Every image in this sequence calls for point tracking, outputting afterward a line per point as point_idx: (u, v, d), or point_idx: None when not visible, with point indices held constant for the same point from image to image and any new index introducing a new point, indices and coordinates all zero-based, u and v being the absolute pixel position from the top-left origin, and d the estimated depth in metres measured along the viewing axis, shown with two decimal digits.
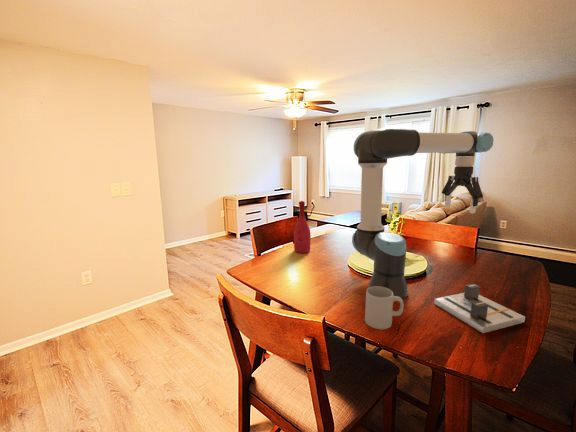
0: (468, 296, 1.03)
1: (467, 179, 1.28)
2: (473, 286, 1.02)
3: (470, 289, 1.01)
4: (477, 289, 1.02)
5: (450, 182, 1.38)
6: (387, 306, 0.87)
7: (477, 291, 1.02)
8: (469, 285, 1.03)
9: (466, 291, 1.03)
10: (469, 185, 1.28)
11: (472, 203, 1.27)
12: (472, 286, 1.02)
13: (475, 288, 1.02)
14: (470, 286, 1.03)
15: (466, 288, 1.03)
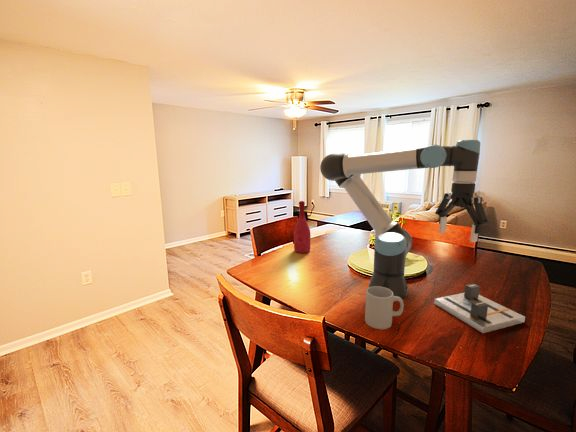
0: (468, 296, 1.03)
1: (468, 199, 1.02)
2: (473, 286, 1.02)
3: (470, 289, 1.01)
4: (477, 289, 1.02)
5: (446, 201, 1.12)
6: (387, 306, 0.87)
7: (477, 291, 1.02)
8: (469, 285, 1.03)
9: (466, 291, 1.03)
10: (470, 207, 1.03)
11: (474, 230, 1.01)
12: (472, 286, 1.02)
13: (475, 288, 1.02)
14: (470, 286, 1.03)
15: (466, 288, 1.03)
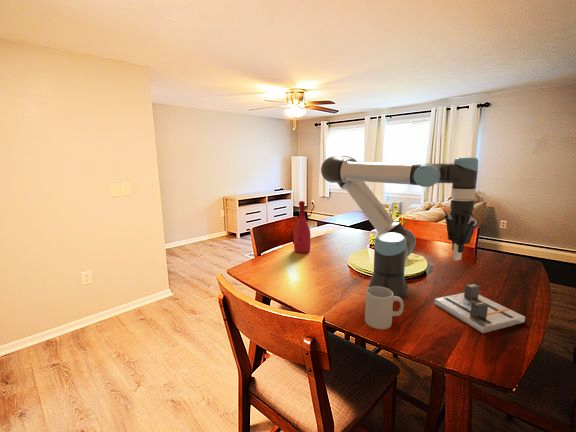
0: (468, 296, 1.03)
1: (466, 217, 1.02)
2: (473, 286, 1.02)
3: (470, 289, 1.01)
4: (477, 289, 1.02)
5: (450, 222, 1.10)
6: (387, 306, 0.87)
7: (477, 291, 1.02)
8: (469, 285, 1.03)
9: (466, 291, 1.03)
10: (464, 226, 1.04)
11: (457, 249, 1.07)
12: (472, 286, 1.02)
13: (475, 288, 1.02)
14: (470, 286, 1.03)
15: (466, 288, 1.03)
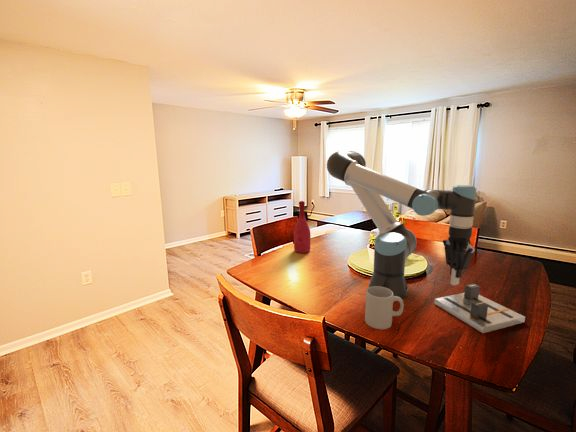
0: (468, 296, 1.03)
1: (464, 244, 1.04)
2: (473, 286, 1.02)
3: (470, 289, 1.01)
4: (477, 289, 1.02)
5: (448, 247, 1.11)
6: (387, 306, 0.87)
7: (477, 291, 1.02)
8: (469, 285, 1.03)
9: (466, 291, 1.03)
10: (461, 252, 1.06)
11: (455, 274, 1.09)
12: (472, 286, 1.02)
13: (475, 288, 1.02)
14: (470, 286, 1.03)
15: (466, 288, 1.03)
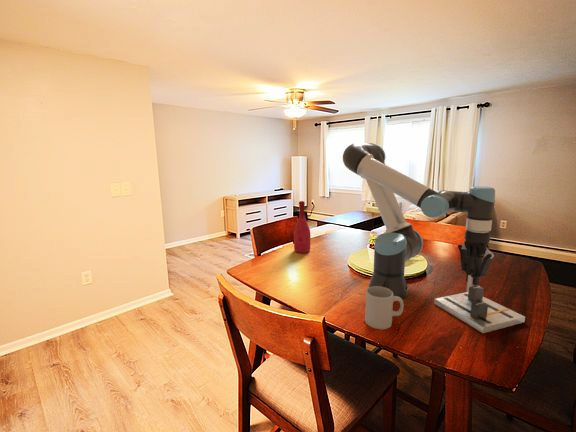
0: (472, 298, 1.01)
1: (482, 249, 0.97)
2: (477, 288, 1.01)
3: (474, 291, 1.00)
4: (481, 291, 1.01)
5: (464, 252, 1.05)
6: (387, 306, 0.87)
7: (481, 293, 1.01)
8: (473, 287, 1.02)
9: (469, 293, 1.02)
10: (479, 258, 0.99)
11: (472, 281, 1.02)
12: (476, 288, 1.01)
13: (479, 290, 1.00)
14: (474, 287, 1.01)
15: (470, 290, 1.02)
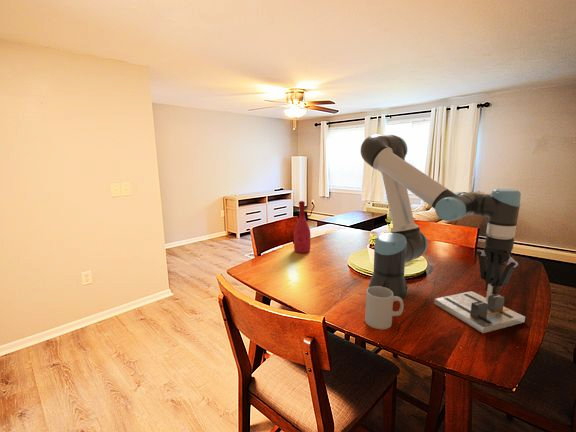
0: (492, 308, 0.94)
1: (504, 257, 0.90)
2: (497, 297, 0.94)
3: (495, 300, 0.93)
4: (502, 300, 0.94)
5: (484, 259, 0.98)
6: (387, 306, 0.87)
7: (502, 303, 0.94)
8: (493, 296, 0.95)
9: (489, 303, 0.95)
10: (500, 266, 0.92)
11: (491, 290, 0.95)
12: (496, 297, 0.94)
13: (499, 300, 0.94)
14: (494, 297, 0.94)
15: (489, 299, 0.95)
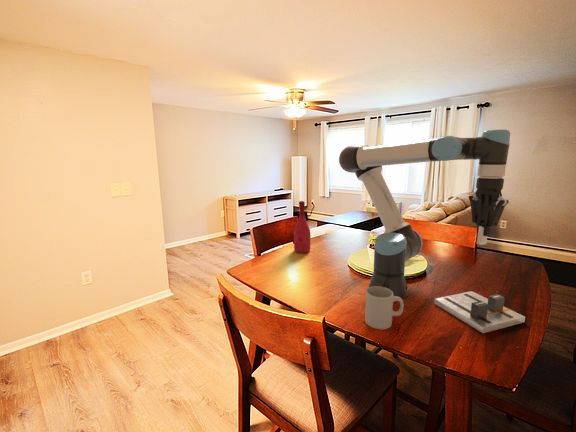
0: (492, 308, 0.94)
1: (494, 196, 0.92)
2: (497, 297, 0.94)
3: (495, 300, 0.93)
4: (502, 300, 0.94)
5: (475, 203, 1.00)
6: (387, 306, 0.87)
7: (502, 303, 0.94)
8: (493, 296, 0.95)
9: (489, 303, 0.95)
10: (491, 207, 0.95)
11: (482, 232, 0.97)
12: (496, 297, 0.94)
13: (499, 300, 0.94)
14: (494, 297, 0.94)
15: (489, 299, 0.95)
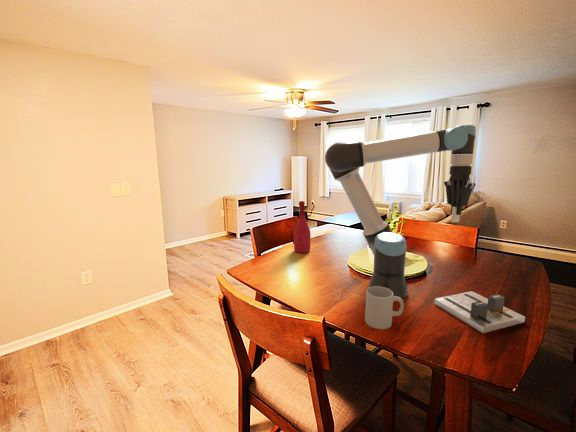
0: (492, 308, 0.94)
1: (464, 181, 1.11)
2: (497, 297, 0.94)
3: (495, 300, 0.93)
4: (502, 300, 0.94)
5: (449, 188, 1.19)
6: (387, 306, 0.87)
7: (502, 303, 0.94)
8: (493, 296, 0.95)
9: (489, 303, 0.95)
10: (462, 190, 1.13)
11: (455, 211, 1.16)
12: (496, 297, 0.94)
13: (499, 300, 0.94)
14: (494, 297, 0.94)
15: (489, 299, 0.95)
